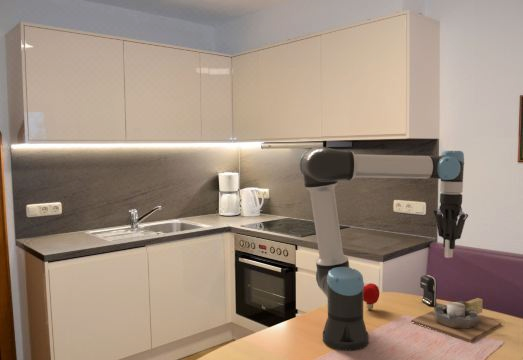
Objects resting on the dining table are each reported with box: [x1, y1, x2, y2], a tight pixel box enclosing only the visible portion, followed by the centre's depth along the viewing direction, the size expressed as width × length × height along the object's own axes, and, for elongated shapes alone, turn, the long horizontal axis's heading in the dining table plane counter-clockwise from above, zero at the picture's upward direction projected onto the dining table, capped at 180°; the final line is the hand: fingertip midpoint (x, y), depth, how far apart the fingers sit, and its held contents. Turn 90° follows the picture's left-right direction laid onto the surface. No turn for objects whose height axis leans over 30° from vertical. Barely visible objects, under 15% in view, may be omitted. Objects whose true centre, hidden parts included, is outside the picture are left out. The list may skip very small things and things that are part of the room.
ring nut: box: [433, 297, 484, 328], centre depth 165 cm, size 22×14×5 cm, turn 123°
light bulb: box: [363, 283, 380, 311], centre depth 178 cm, size 9×7×10 cm
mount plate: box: [410, 300, 502, 343], centre depth 163 cm, size 22×22×7 cm
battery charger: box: [419, 274, 438, 307], centre depth 184 cm, size 7×4×11 cm, turn 12°
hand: (448, 257), depth 166 cm, fingers closed
